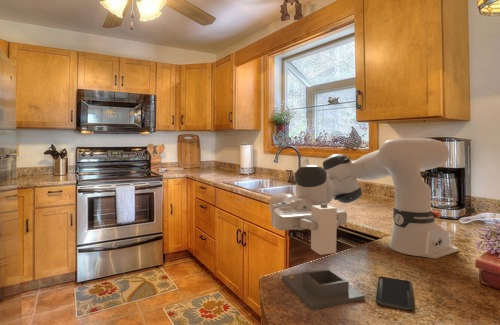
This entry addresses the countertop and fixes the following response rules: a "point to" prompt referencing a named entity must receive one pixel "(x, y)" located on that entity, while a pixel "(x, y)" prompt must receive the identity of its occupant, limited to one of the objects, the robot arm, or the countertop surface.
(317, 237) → the cream square peg
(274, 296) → the countertop surface
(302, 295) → the dock
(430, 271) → the countertop surface
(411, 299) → the phone
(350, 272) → the countertop surface
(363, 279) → the countertop surface
